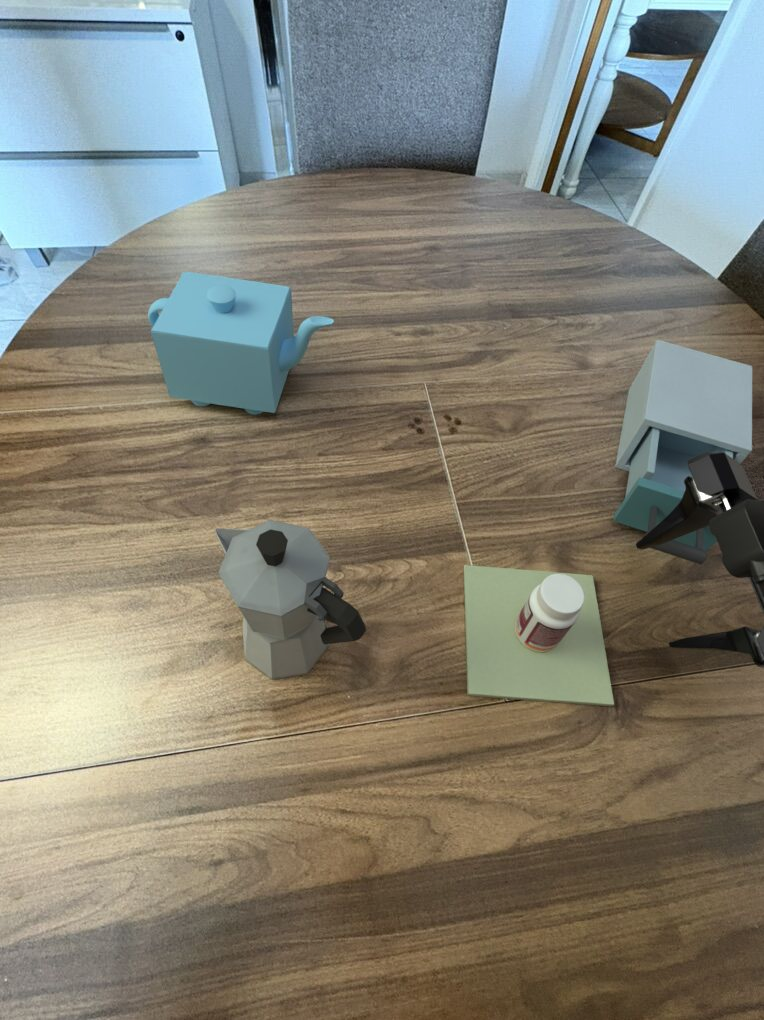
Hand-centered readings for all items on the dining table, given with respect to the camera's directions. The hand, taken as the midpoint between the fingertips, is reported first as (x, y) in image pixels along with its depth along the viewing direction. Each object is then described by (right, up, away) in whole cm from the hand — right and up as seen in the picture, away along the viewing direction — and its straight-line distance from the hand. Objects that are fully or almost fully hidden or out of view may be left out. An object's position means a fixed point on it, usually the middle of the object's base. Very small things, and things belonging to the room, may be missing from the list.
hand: (653, 594), depth 55 cm
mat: (-9, -5, +8) cm, 13 cm away
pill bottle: (-9, -5, +8) cm, 12 cm away
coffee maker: (-33, -6, +5) cm, 34 cm away
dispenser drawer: (+9, +8, +17) cm, 21 cm away
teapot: (-41, +23, +25) cm, 54 cm away
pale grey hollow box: (+13, +16, +25) cm, 32 cm away
